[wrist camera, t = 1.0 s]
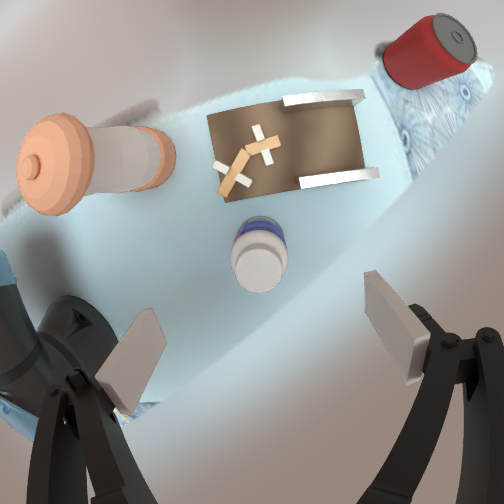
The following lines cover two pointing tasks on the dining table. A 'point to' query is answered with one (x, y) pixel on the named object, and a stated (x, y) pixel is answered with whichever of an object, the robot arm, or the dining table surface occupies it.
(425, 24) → the beer can
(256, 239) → the pill bottle
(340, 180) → the end holder
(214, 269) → the dining table surface
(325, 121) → the board
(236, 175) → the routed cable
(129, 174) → the pepper shaker
